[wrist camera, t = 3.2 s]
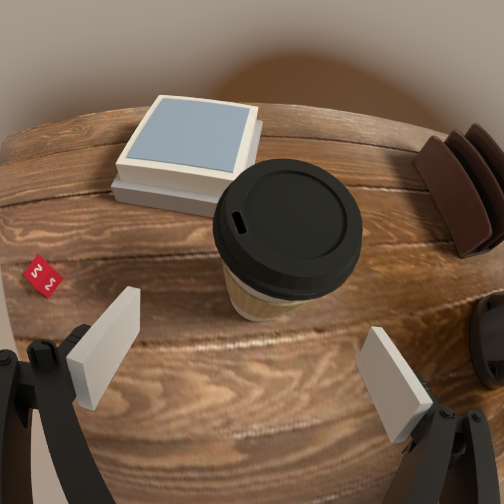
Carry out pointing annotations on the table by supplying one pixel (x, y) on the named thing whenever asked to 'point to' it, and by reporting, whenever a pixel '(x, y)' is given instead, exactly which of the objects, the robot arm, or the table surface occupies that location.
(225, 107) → the plinth
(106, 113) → the table surface
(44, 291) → the red letter cube
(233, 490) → the table surface
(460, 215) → the letter holder
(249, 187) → the coffee cup
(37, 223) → the table surface
